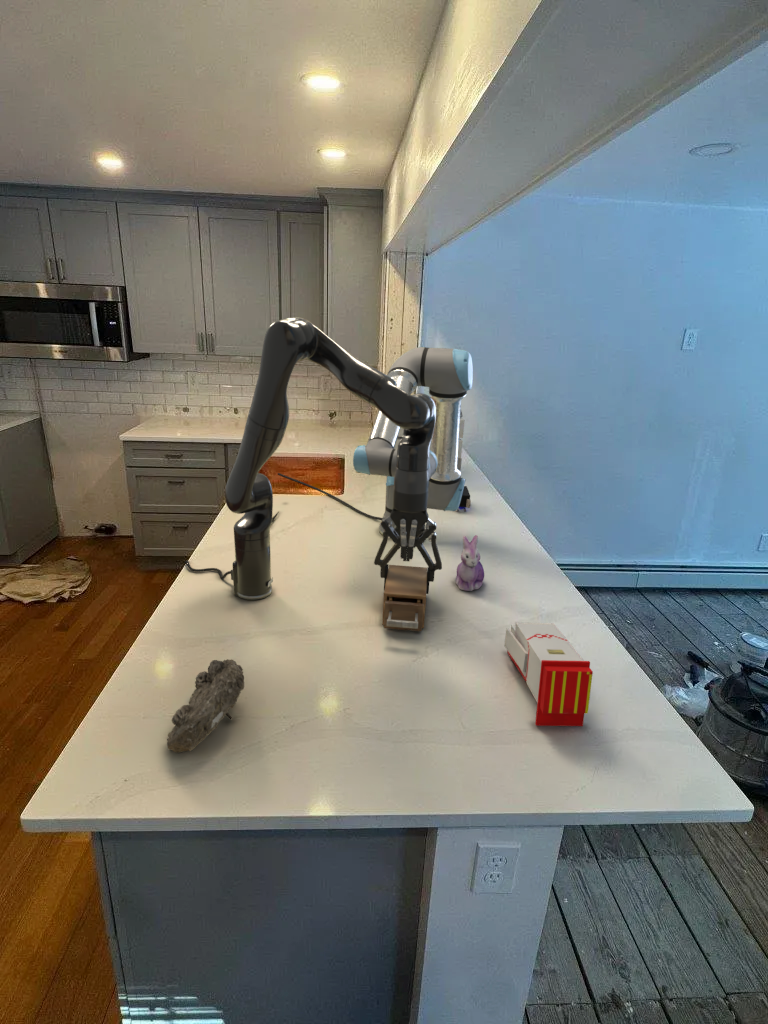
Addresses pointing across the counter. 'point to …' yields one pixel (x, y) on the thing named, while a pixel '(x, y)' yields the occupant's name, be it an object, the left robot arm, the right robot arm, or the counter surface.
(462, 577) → the figurine
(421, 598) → the cabinet
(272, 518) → the feather
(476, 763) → the counter surface
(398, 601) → the drawer
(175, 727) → the fossil
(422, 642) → the counter surface
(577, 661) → the toy
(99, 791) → the counter surface
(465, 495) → the figurine character
